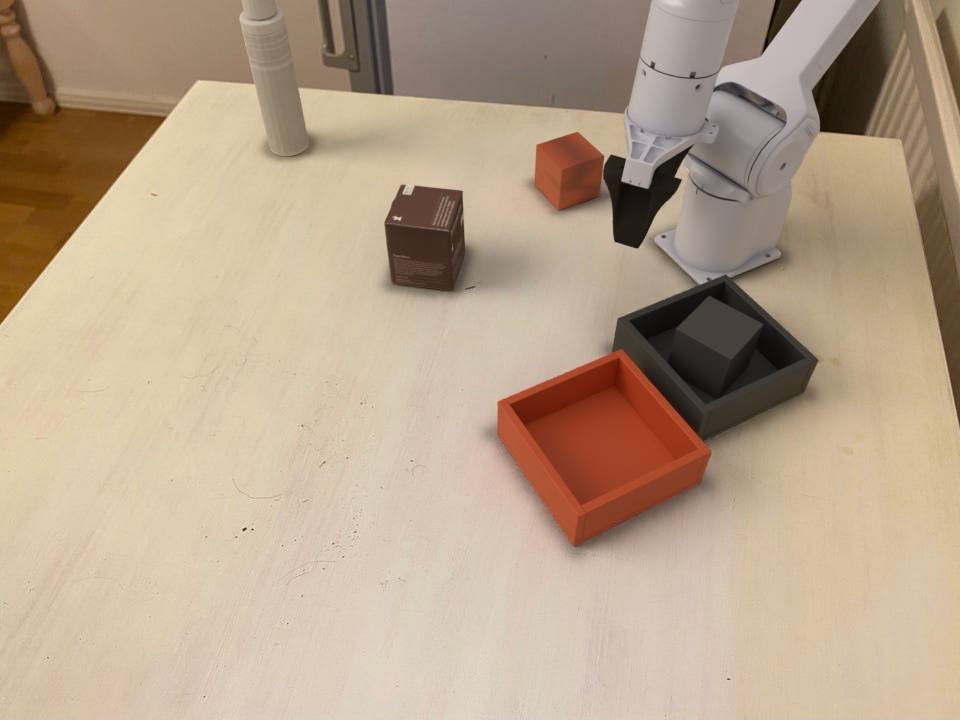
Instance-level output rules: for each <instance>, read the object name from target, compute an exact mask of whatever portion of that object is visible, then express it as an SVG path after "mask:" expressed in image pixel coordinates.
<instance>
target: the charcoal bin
mask: <svg viewBox="0 0 960 720" xmlns="http://www.w3.org/2000/svg"><path fill="white" fill-rule="evenodd" d="M708 296H711V297H713V298H714V299H716V300H718V301H720V302H722V303H724V304H726V305H728V306H730V307H732V308H734V309H735V310H737V311H739V312H741V313H743V314H745V315H747V316H749V317H751V318H753V319H754V320H756V321H758V322H760V323H762V324H763V328H762V330H761V333H760V336H759V339H758V341H757V344H756V347H755V350H754V352H753V355H752V358H751V361H750V363H749V366H748V367H747V368H746V369H745V370H744V371H743V372H742V374H741V375H740V376H739V377H738V378H737V379H736V380H735V381H734V383H733V384H732V385H731V386H730V387H729V388H728V389H727V390H726V392H725V393H724V394H723V395H722V396H721V397H720V398H719V399H716V398H714V397H712V396H710V395H709V394H707V393H705V392H704V391H702V390H700V389H699V388H697V387H695V386H693V385H692V384H690V383H688V382H687V381H685V380H683V379H682V378H681V377H680V376H679V375H678V374H677V373H676V372H675V371H674V370H673V368H672V367H671V366H670V365H669V364H668V360H669V356H670V352H671V348H672V344H673V340H674V336H675V332H676V328H677V327H678V326H679V325H680V324H681V323H682V322H683V321H684V320H685V319H686V318H687V317H688V316H689V315H690V314H691V313H692V312H693V311H694V310H695V309H696V308H697V307H698V306H699V305H700V304H701V303H702V302H703V301H704V300H705V299H706V298H707V297H708ZM615 325H616V326H615V332H614V337H613V343H612V350H611V353H613V352H616V351H618V350H621V349H622V350H623V351H624V352H625V353H626V354H627V355H628V357H629V358H630V359H631V360H632V361H633V362H634V363H635V365H636V366H637V367H638V368H639V369H640V370H641V371H642V373H643V374H644V375H645V376H646V377H647V378H648V379H649V381H650V382H651V383H652V384H653V385H654V386H655V387H656V389H657V390H658V391H659V392H660V393H661V394H662V395H663V396H664V398H665V399H666V400H667V401H668V402H669V403H670V404H671V406H672V407H673V408H674V409H675V410H676V411H677V412H678V414H679V415H680V416H681V417H682V418H683V419H684V420H685V422H686V423H687V424H688V425H689V426H690V427H691V428H692V429H693V431H694V432H695V433H696V434H697V435H698V436H699V437H700V439H701V440H702V441H703V442H704V441H706V440H708V439H710V438H713V437H714V436H717V435H719V434H721V433H723V432H725V431H727V430H729V429H731V428H733V427H736V426H738V425H740V424H741V423H744V422H746V421H748V420H750V419H752V418H754V417H756V416H758V415H760V414H763V413H764V412H766V411H769V410H770V409H773V408H775V407H777V406H779V405H781V404H783V403H785V402H787V401H790V400H791V399H794V398H795V397H798V396H800V395H801V394H804V393H805V392H806V390H807V387H808V385H809V383H810V380H811V378H812V377H813V374H814V372H815V370H816V367H817V365H818V363H819V360H820V359H818V358H817V357H816V356H815V355H814V353H812V352H811V351H810V350H809V349H808V348H807V347H805V345H804V344H802V343H801V342H800V341H799V340H798V338H796V337H794V335H792V333H790V331H788V329H786V328H785V327H784V326H783V325H782V324H781V323H780V322H779V321H777V320H776V319H775V317H774V316H772V315H771V314H769V313H768V311H767V310H766V309H764V307H762V306H761V305H760V304H759V303H758V301H756V300H755V299H754V298H753V297H752V296H751V295H749V294H748V293H747V292H746V291H745V290H744V289H743V288H742V287H741V286H740V285H738V284H737V283H736V282H735V281H734V280H733V279H732V277H731V278H729V277H728V276H727V275H726V274H725V275H723V276H720V277H718V278H715V279H713V280H711V281H708V282H706V283H703V284H701V285H699V284H698V285H696V286H693V287H691V288H689V289H687V290H684V291H681V292H679V293H677V294H674V295H671V296H669V297H667V298H664V299H661V300H660V301H657V302H654V303H652V304H649V305H647V306H645V307H642V308H639V309H637V310H635V311H633V312H630V313H627V314H625V315H623V316H619V317H617V319H616V323H615Z"/></svg>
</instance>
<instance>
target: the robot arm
mask: <svg viewBox="0 0 960 720" xmlns="http://www.w3.org/2000/svg"><path fill="white" fill-rule="evenodd" d="M740 2H741V0H651V2H650V7H649V11H648V16H647V20H646V25H645V29H644V34H643V39H642V44H641V48H640V52H639V57H638V63H637V66H636V71H635V76H634V80H633V84H632V89H631V94H630V99H629V104H628V105H627V106H626V108H625V109H624V114H623V119H622V122H623V129H624V136H625V143H626V151H627V156H626V157H622V156H619V155H615V154H610V155H609V156H608V157H607V159H606V161H605V162H604V164H603V171H602V178H603V179H602V180H603V181H604V183H605V185H606V188H607V190H608V193H609V197H610V201H611V210H612V212H611V213H612V237H613V242H614V243H617V244H620V245H623V246H625V247H629V248H633V249H635V250H636V249H637V250H638V249H639V248H640V247H641V246H642V244H643V243H644V240H645V239H646V236H647V234H648V233H649V230H650V228H651V226H652V224H653V222H654V219H655V218H656V216H657V214H658V213H659V211H660V210H661V209H662V207H663V206H664V205H665V204H666V203H667V202H668V201H669V200H671V199H672V198H673V196H675V194H676V193H677V192H678V190H679V188H680V185H681V183H682V181H683V179H682V178H679V177H676V175H677V173H678V171H679V169H680V167H681V164H683V166H684V167H686V168H687V169H688V173H687V179H686V182H685V188H684V192H683V197H682V202H681V205H680V209H679V210H680V211H679V215H678V220H677V224H676V228H673V229H670V230H668V231H665V232H663V233H659V234H657V235H655V236H654V239H653V241H654V243H655V244H656V245H657V246H658V247H659V248H660V249H661V250H662V251H663V252H664V253H666V255H667V256H668V257H670V259H672V260H673V261H674V263H676V264H677V265H678V266H679V267H680V268H681V269H682V270H683V271H684V272H685V273H686V274H687V275H688V276H689V277H690V278H691V279H692V280H694V281H695V282H696V284H698V285H701V284H703V283H706V282H708V281H711V280H713V279H715V278H718V277H720V276H723V275H725V274H726V275H727V276H728V277H729V278H731V279H732V278H734V277H736V276H738V275H741V274H743V273H746V272H748V271H751V270H753V269H755V268H758V267H761V266H763V265H765V264H767V263H770V262H772V261H775V260H777V259H779V258H780V257H781V255H782V252H781V250H779V249H778V248H777V244H778V240H779V238H780V235H781V233H782V229H783V227H784V223H785V221H786V217H787V215H788V212H789V209H790V206H791V203H792V199H793V188H792V187H793V186H792V179H793V178H794V177H795V175H796V174H797V173H798V171H799V170H800V167H801V166H802V164H803V161H804V159H805V156H806V154H807V152H808V151H809V150H810V147H811V146H812V144H813V143H814V142H815V140H816V139H817V137H818V135H819V133H821V121H820V115H819V111H818V108H817V105H816V101H815V99H814V95H813V89H814V88H815V87H816V86H817V84H818V83H819V82H820V81H821V79H822V78H823V76H824V75H825V73H826V72H827V71H828V69H830V67H831V65H833V63H834V62H835V60H836V59H837V58H838V56H839V55H840V54H841V53H842V51H843V50H844V49H845V47H846V46H847V45H848V43H849V42H850V41H851V40H852V38H853V37H854V36H855V34H856V33H857V32H858V30H859V29H860V27H862V25H863V24H864V22H865V21H866V20H867V18H868V17H869V16H870V14H872V12H873V11H874V9H875V8H876V6H878V4H879V2H881V0H801V1H800V2H799V4H798V5H797V7H796V8H795V9H794V11H792V13H791V14H790V16H788V18H787V20H786V21H785V23H783V26H782V27H781V28H780V30H779V31H778V32H777V34H776V35H775V36H774V38H772V40H771V42H770V43H769V45H768V46H767V47H766V49H765V50H764V52H762V54H761V55H760V56H758V57H756V58H753V59H748V60H744V61H739V62H735V63H731V64H728V65H725V66H722V64H723V60H724V56H725V52H726V49H727V46H728V42H729V39H730V36H731V32H732V28H733V25H734V23H735V19H736V16H737V12H738V8H739V5H740ZM721 66H722V67H721Z"/></svg>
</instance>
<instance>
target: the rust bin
mask: <svg viewBox="0 0 960 720" xmlns="http://www.w3.org/2000/svg"><path fill="white" fill-rule="evenodd" d="M496 419H497V420H496V421H497V423H496V425H497V426H496V434H497V435H498V437H499V439H500V440H501V441H502V443H503V444H504V446H505V447H506V449H507V451H508V452H509V453H510V455H511V456H512V458H513V459H514V461H515V463H516V464H517V465H518V467H519V468H520V470H521V471H522V472H523V474H524V475H525V477H526V479H527V480H528V481H529V483H530V484H531V486H532V488H533V489H534V490H535V492H536V493H537V494H538V496H539V498H540V499H541V501H542V502H543V504H544V505H545V507H546V508H547V509H548V511H549V512H550V514H551V516H552V517H553V518H554V520H555V521H556V523H557V524H558V526H559V527H560V529H561V530H562V532H563V533H564V535H565V536H566V537H567V539H568V541H569V542H570V544H571V545H572V546H573V547H575V546H576V547H577V546H578V545H579V544H581V543H584V542H586V541H587V540H589V539H592V538H593V537H596V536H598V535H599V534H601V533H604V532H605V531H608V530H610V529H611V528H613V527H615V526H617V525H619V524H622V523H624V522H625V521H628V520H629V519H631V518H634V517H635V516H637V515H639V514H642V513H644V512H645V511H647V510H650V509H651V508H654V507H655V506H657V505H659V504H661V503H664V502H665V501H668V500H670V499H672V498H673V497H676V496H677V495H680V494H681V493H683V492H685V491H687V490H690V489H691V488H693V487H695V486H697V485H699V484H701V483H702V482H703V478H704V475H705V473H706V472H705V471H706V469H707V466H708V464H709V461H710V458H711V457H712V450H711V449H710V448H709V447H708V445H707V444H706V443H705V442H704V441H702V440H701V439H700V437H699V436H698V435H697V434H696V433H695V432H694V431H693V429H692V428H691V427H690V426H689V425H688V424H687V423H686V422H685V420H684V419H683V418H682V417H681V416H680V415H679V414H678V412H677V411H676V410H675V409H674V408H673V407H672V406H671V404H670V403H669V402H668V401H667V400H666V399H665V398H664V396H663V395H662V394H661V393H660V392H659V391H658V390H657V389H656V387H655V386H654V385H653V384H652V383H651V382H650V381H649V379H648V378H647V377H646V376H645V375H644V374H643V373H642V371H641V370H640V369H639V368H638V367H637V366H636V365H635V363H634V362H633V361H632V360H631V359H630V358H629V357H628V355H627V354H626V353H625V352H624V351H623V350H622V349H621V350H618V351H616V352H611V353H609V354H606V355H604V356H602V357H599V358H597V359H594V360H592V361H590V362H587V363H585V364H583V365H581V366H578V367H576V368H573V369H571V370H569V371H566V372H564V373H562V374H560V375H556V376H554V377H553V378H550V379H547V380H544V381H543V382H540V383H538V384H535V385H533V386H530V387H528V388H527V389H523V390H521V391H518V392H517V393H514V394H512V395H510V396H507V397H505V398H502V399H500V400H498V401H497V418H496Z"/></svg>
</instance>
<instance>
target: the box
mask: <svg viewBox="0 0 960 720" xmlns="http://www.w3.org/2000/svg"><path fill="white" fill-rule="evenodd" d="M383 225H384V233H385V234H384V235H385V242H386V251H387V259H388V265H389V273H390V274H389V275H390V282H391V283H392V284H394V285H402V286H411V287H418V288H428V289H433V290H434V289H435V290H441V291H453V289H454V287H455V285H456V282H457V279H458V277H459V273H460V269H461V266H462V264H463V259H464V257H465V254H466V239H465V238H466V235H465V213H464V190H460V189H450V188H443V187H441V188H440V187H434V186H433V187H432V186H423V185H416V184H415V185H413V184H400V186H399V188H398V190H397V192H396V195H395V197H394V198H393V200H392V202H391V204H390V209H389V211H388V213H387V215H386V217H385V219H384V223H383Z"/></svg>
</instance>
